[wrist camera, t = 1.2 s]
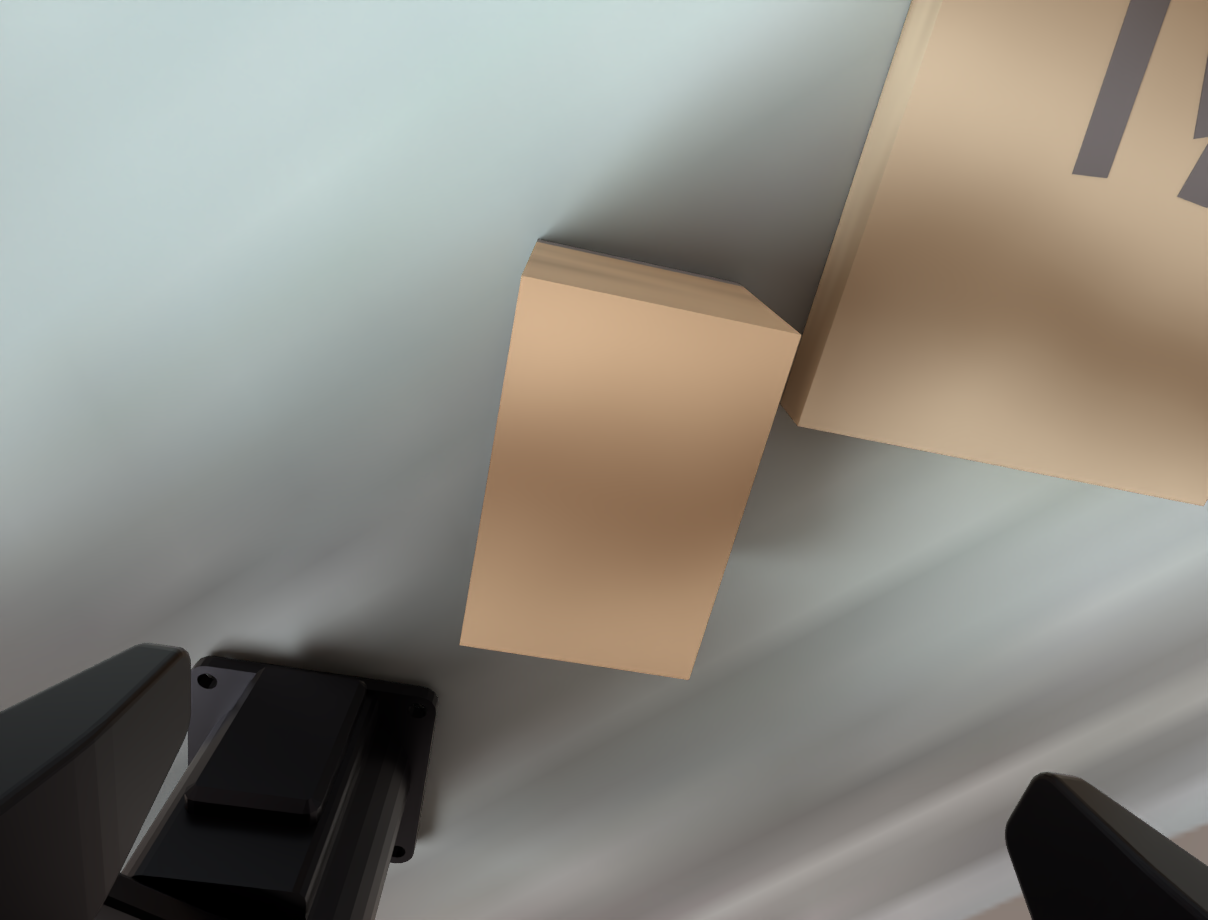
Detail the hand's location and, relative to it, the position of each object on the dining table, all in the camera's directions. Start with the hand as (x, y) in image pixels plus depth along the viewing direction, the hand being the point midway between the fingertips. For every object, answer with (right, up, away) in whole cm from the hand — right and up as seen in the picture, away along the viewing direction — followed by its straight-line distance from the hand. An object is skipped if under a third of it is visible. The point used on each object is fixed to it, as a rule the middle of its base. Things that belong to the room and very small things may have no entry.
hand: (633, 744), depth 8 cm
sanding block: (0, +4, +10) cm, 11 cm away
